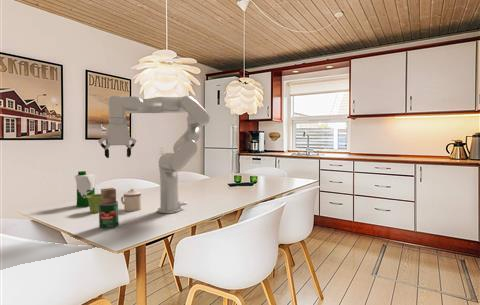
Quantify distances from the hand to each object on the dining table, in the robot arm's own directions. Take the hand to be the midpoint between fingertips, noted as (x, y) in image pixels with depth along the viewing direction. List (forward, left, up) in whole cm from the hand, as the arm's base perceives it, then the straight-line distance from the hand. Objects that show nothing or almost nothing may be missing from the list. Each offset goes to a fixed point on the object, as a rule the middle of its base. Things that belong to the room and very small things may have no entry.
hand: (118, 157), depth 136 cm
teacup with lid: (-10, -16, -31) cm, 36 cm away
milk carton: (+8, -41, -31) cm, 52 cm away
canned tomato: (+7, +10, -31) cm, 33 cm away
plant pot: (+6, -22, -31) cm, 38 cm away
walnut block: (+7, +10, -19) cm, 23 cm away
